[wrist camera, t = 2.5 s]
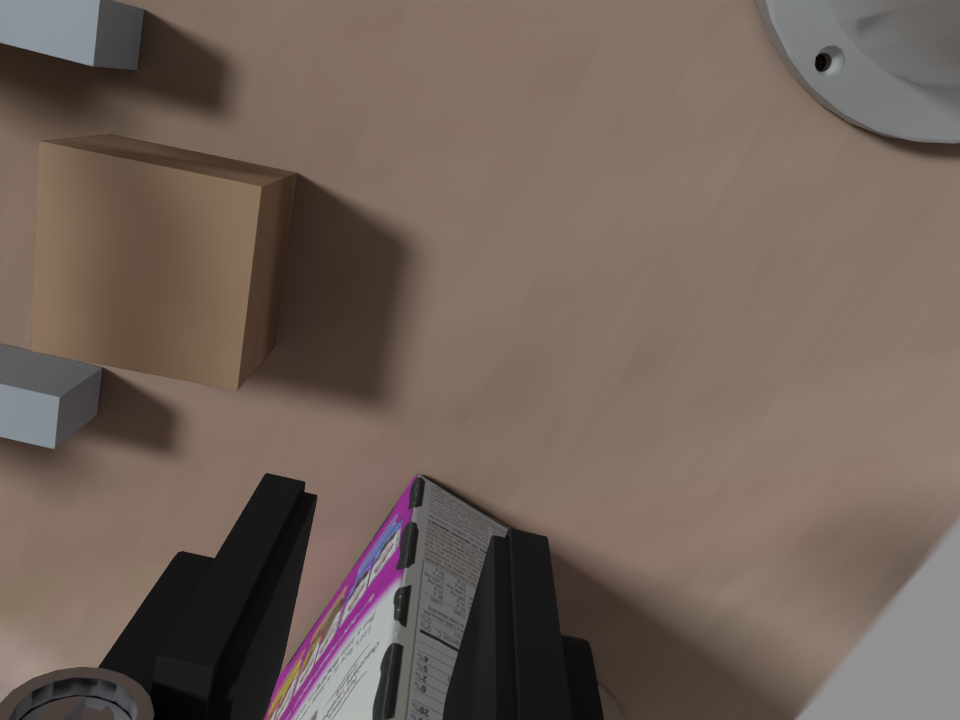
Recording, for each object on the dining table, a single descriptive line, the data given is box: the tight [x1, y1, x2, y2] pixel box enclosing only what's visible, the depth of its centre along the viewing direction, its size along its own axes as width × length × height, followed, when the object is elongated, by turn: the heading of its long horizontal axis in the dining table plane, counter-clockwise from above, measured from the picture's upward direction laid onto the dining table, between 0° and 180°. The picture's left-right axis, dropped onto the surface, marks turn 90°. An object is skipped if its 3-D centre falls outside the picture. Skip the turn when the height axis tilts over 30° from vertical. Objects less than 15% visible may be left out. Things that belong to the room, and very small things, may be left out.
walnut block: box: [31, 134, 297, 391], centre depth 25 cm, size 6×6×4 cm
